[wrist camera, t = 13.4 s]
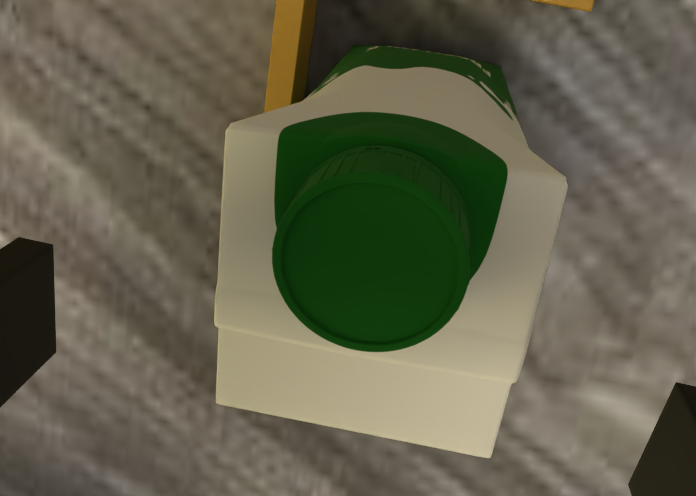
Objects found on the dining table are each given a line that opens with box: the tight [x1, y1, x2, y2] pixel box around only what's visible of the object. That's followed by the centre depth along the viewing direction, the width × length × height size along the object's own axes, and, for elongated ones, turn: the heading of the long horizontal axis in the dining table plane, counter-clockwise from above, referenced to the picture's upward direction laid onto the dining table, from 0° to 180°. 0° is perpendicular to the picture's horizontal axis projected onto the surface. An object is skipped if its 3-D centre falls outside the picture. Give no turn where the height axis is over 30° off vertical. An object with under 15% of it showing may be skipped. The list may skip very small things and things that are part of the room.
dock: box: [264, 0, 594, 113], centre depth 30 cm, size 13×16×3 cm
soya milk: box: [214, 45, 568, 458], centre depth 23 cm, size 9×9×20 cm
